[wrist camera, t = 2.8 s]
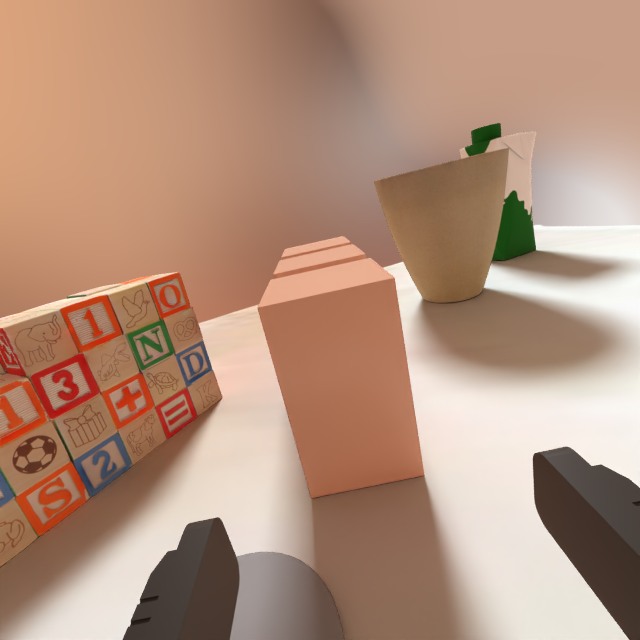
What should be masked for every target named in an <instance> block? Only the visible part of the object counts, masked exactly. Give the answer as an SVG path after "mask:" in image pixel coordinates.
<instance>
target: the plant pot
mask: <svg viewBox="0 0 640 640" xmlns="http://www.w3.org/2000/svg"><path fill="white" fill-rule="evenodd" d="M508 156H509V148H505V149H500V150H495V151H491V152H487V153H482V154H478V155H474V156H470V157H466V158H462V159H459V160H455V161H450V162H446V163H442V164H439V165H434V166H430V167H427V168H423V169H419V170H415V171H411V172H407V173H403V174H399V175H395V176H391V177H387V178H384V179H380V180H377V181H374V183H375V186H376V190H377V193H378V196H379V200H380V203H381V206H382V209H383V212H384V215H385V218H386V221H387V224H388V227H389V229H390V231H391V234H392V237H393V239H394V242H395V244H396V246H397V249H398V251H399V253H400V255H401V257H402V260H403V262H404V264H405V266H406V268H407V270H408V272H409V274H410V276H411V278H412V280H413V281H414V283H415V285H416V287H417V289H418V290H419V292H420V294H421V295H422V297H423V299H425V300H426V301H429V302H435V303H450V302H457V301H463V300H467V299H470V298H473V297H475V296H477V295H479V294H480V293H481V292H482V290H483V287H484V284H485V281H486V278H487V275H488V271H489V268H490V264H491V261H492V257H493V253H494V249H495V245H496V241H497V236H498V231H499V226H500V221H501V216H502V210H503V203H504V196H505V188H506V178H507V168H508Z"/></svg>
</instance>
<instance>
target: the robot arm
mask: <svg viewBox="0 0 640 640" xmlns="http://www.w3.org/2000/svg"><path fill="white" fill-rule="evenodd" d="M533 476H534V499H535V505H536V509H537V511H538V514H539V516H540V518H541V520H542V522H543V524H544V526H545V527H546V529H547V530H548V532H549V533H550V534H551V536H552V537H553V538H554V540H555V541H556V542H557V544H558V545H559V546H560V548H561V549H562V550H563V552H564V553H565V554H566V556H567V557H568V558H569V560H570V561H571V562H572V564H573V565H574V566H575V568H576V569H577V570H578V572H579V573H580V574H581V576H582V577H583V578H584V580H585V581H586V582H587V584H588V585H589V586H590V588H591V589H592V590H593V592H594V593H595V594H596V596H597V597H598V598H599V600H600V601H601V602H602V604H603V605H604V606H605V608H606V609H607V610H608V612H609V613H610V614H611V616H612V617H613V618H614V620H615V621H616V622H617V624H618V625H619V626H620V628H621V629H622V630H623V632H624V633H625V634H626V636H627V637H628V638H629V640H640V488H639V487H638V486H637V485H636V484H634V483H633V482H632V481H631V480H630V479H628V478H626V477H624V476H622V475H620V474H618V473H616V472H614V471H613V470H611V469H609V468H607V467H605V466H603V465H596V466H591V465H590V464H589V463H587V462H586V461H585V460H584V459H583V458H582V457H581V456H580V455H579V454H578V453H576V452H575V451H574V450H573V449H571V448H569V447H562V448H557V449H553V450H548V451H543V452H538V453H535V454H534V456H533ZM239 582H240V574H239V565H238V560H237V557H236V555H235V552H234V550H233V547H232V545H231V542H230V540H229V537H228V535H227V532H226V530H225V527H224V525H223V522H222V520H221V519H220V518H213V519H208V520H203V521H198V522H193V523H189V524H188V525H187V526H186V528H185V530H184V532H183V535H182V537H181V540H180V542H179V545H178V548H177V550H173V551H168V552H167V553H166V555H165V556H164V557H163V558H162V560H161V561H160V562H159V564H158V565H157V566H156V568H155V569H154V570H153V572H152V573H151V575H150V577H149V579H148V582H147V584H146V586H145V589H144V591H143V593H142V596H141V598H140V604H138V605H137V607H136V610H135V612H134V614H133V617H132V619H131V625H130V627H128V628H127V631H126V633H125V635H124V638H123V640H230V636H231V630H232V625H233V619H234V613H235V608H236V602H237V597H238V591H239Z"/></svg>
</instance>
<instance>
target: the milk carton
mask: <svg viewBox="0 0 640 640" xmlns="http://www.w3.org/2000/svg"><path fill="white" fill-rule="evenodd" d="M500 125H501V124H500V123H497V124H492V125H489V126H484V127H481V128H478V129H475V130H473V131H471V135H472V145H471V146H467V147H465V148H463V149H460V154H461V158H466V157H470V156H474V155H478V154H482V153H487V152H491V151H495V150H500V149H505V148H509V156H508V168H507V178H506V188H505V196H504V203H503V210H502V216H501V221H500V226H499V231H498V236H497V241H496V245H495V249H494V253H493V257H492V260H503V261H505V260H507V259H510V258H513V257H516V256H519V255H522V254H525V253H528V252H531V251H534V250H536V245H535V237H534V229H533V221H532V188H531V159H532V153H533V148H534V143H535V137H536V131H533V132H528V133H525V132H522V133H518V134H514V135H510V136H505V137H501V126H500Z"/></svg>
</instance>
